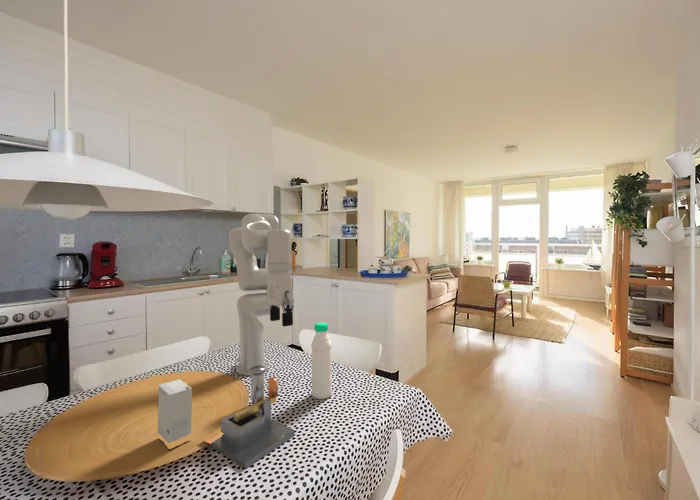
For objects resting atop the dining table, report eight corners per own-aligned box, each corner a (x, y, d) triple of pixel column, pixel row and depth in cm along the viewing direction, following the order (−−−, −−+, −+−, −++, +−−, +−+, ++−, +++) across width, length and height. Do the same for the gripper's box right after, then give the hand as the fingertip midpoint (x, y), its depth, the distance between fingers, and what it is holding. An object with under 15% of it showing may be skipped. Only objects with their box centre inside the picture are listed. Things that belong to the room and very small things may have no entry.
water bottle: (329, 401, 108) (328, 326, 107) (308, 399, 109) (308, 325, 108) (334, 391, 115) (333, 321, 114) (315, 389, 116) (314, 320, 115)
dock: (203, 441, 86) (202, 408, 86) (253, 415, 99) (252, 386, 99) (245, 469, 76) (244, 431, 75) (294, 435, 89) (294, 403, 88)
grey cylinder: (246, 405, 105) (246, 369, 105) (259, 399, 109) (258, 364, 109) (256, 410, 102) (256, 372, 102) (268, 403, 106) (268, 367, 106)
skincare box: (157, 438, 87) (156, 385, 87) (180, 428, 92) (179, 377, 92) (169, 452, 82) (168, 394, 82) (193, 440, 87) (192, 386, 86)
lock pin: (232, 419, 85) (232, 394, 84) (273, 398, 96) (273, 376, 96) (238, 422, 83) (238, 397, 83) (279, 400, 94) (279, 378, 94)
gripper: (258, 268, 106) (260, 320, 106) (279, 270, 92) (280, 330, 92) (280, 267, 110) (281, 317, 110) (303, 268, 96) (304, 326, 96)
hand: (281, 323), depth 101 cm, fingers open, 9 cm apart
